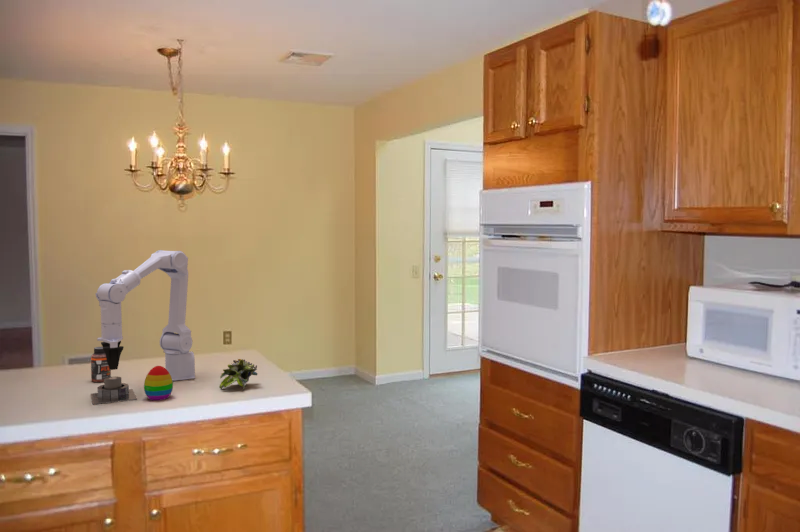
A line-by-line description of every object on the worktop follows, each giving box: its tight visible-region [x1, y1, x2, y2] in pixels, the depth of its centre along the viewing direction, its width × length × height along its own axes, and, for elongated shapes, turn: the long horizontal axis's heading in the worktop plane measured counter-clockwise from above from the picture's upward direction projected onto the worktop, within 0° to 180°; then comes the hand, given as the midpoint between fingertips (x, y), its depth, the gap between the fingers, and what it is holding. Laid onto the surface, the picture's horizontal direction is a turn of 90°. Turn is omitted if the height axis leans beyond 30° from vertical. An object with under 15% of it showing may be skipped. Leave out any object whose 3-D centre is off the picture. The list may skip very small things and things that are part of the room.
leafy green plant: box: [218, 358, 259, 391], centre depth 203 cm, size 11×11×12 cm
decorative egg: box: [143, 365, 174, 401], centre depth 191 cm, size 8×8×10 cm
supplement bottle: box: [90, 346, 112, 383], centre depth 211 cm, size 6×6×11 cm
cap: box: [103, 376, 123, 389], centre depth 192 cm, size 5×5×6 cm
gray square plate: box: [90, 382, 138, 406], centre depth 192 cm, size 12×12×3 cm
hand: (112, 366), depth 191 cm, fingers open, 6 cm apart
